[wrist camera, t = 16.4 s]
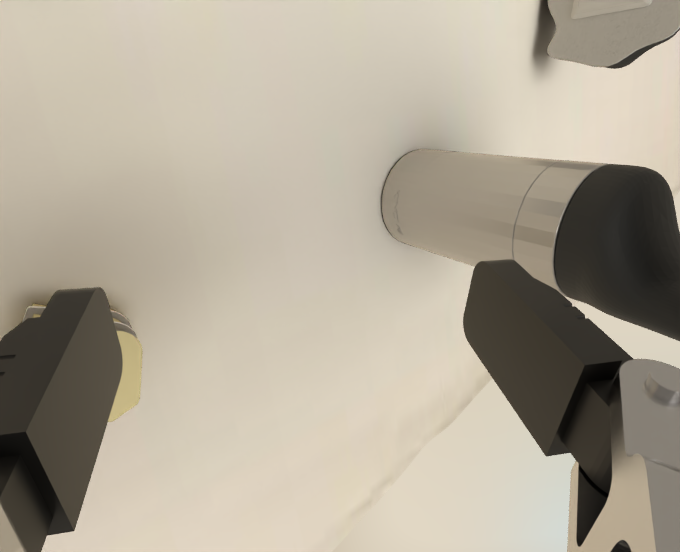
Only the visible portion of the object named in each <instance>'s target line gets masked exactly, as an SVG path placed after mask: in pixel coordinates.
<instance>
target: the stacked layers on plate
mask: <svg viewBox="0 0 680 552" xmlns="http://www.w3.org/2000/svg"><path fill="white" fill-rule="evenodd" d="M45 308H46V306H45V305H39V304H34V303H33V305H32V306H29V307H27V309H26V312H25V315H24V318H23V321H22V322H24V321H25V320H26V319H28V318H35V317H40V316H41V314H42V312H43V311H44V309H45ZM110 310H111V314H112V317H113V321H114V325H115V328H116V332H117V335H118V339H119V342H120V346H121V350H122V359H123V367H122V376H121V380H120V383H119V386H118V390H117V393H116V396H115V399H114V403H113V406H112V409H111V412H110V416H109V419H108V422H112V421H114V420H116V419H117V418H118V417H120V416H121V415H123V414H124V413H125V412H127V411H128V410H130V409H131V408H132V407H134V406H135V405H137V404H138V402H139V399H140V387H141V369H142V346H141V344H140V342H139V340H138V339H137V336H136V334H135V332H134V331H133V330H132V328H131V325H130V323H129V321H128V319H127V318H126V317H125V316H124V315H122V314H121V313H119V312H116V311H114V310H112V309H110Z"/></svg>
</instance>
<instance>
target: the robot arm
mask: <svg viewBox="0 0 680 552" xmlns="http://www.w3.org/2000/svg"><path fill="white" fill-rule="evenodd" d="M382 214H383V219H384V222H385V224H386V227H387V229H388V230H389V232H390V233H391V235H392V236H393V237H394V238H396V239H397V240H398V241H401V242H403V243H405V244H408V245H411V246H414V247H417V248H421V249H424V250H427V251H429V252H432V253H435V254H438V255H441V256H444V257H447V258H450V259H453V260H456V261H459V262H462V263H465V264H468V265H471V266H475V268H474V271H473V276H472V280H471V285H470V289H469V294H468V298H467V303H466V307H465V312H464V317H463V326H464V332H465V336H466V338H467V341H468V342H469V344H470V345H471V347H472V348H473V350H474V351H475V353H476V354H477V356H478V357H479V359H480V360H481V362H482V363H483V364H484V366H485V367H486V369H487V370H488V372H489V373H490V375H491V376H492V378H493V379H494V381H495V382H496V384H497V385H498V386H499V388H500V389H501V391H502V392H503V394H504V395H505V396H506V398H507V400H508V401H509V403H510V404H511V406H512V407H513V409H514V410H515V411H516V413H517V414H518V416H519V417H520V419H521V420H522V422H523V423H524V425H525V426H526V428H527V429H528V430H529V432H530V433H531V435H532V436H533V438H534V439H535V441H536V442H537V444H538V445H539V447H540V448H541V450H542V451H543V453H544V454H545V455H546V456H552V455H558V454H564V453H571V454H572V455H573V457H574V458H575V459H576V462H575V464H574V466H573V468H572V470H571V484H570V504H569V526H568V546H567V552H680V369H678V368H676V367H674V366H671V365H669V364H666V363H663V362H659V361H655V360H648V359H633V358H632V357H631V356H630V355H628V354H627V353H626V352H625V351H624V350H623V349H622V348H621V347H620V346H618V345H617V344H616V343H615V342H614V341H613V340H612V339H611V338H609V337H608V336H607V335H606V334H605V333H604V332H603V331H602V330H601V329H600V328H598V327H597V326H596V325H595V324H594V323H593V322H592V321H591V320H590V319H585V315H584V314H583V313H582V312H581V311H580V310H578V309H577V308H576V307H572V303H571V302H570V301H568V300H567V299H566V298H565V297H564V296H566V297H569V298H572V299H575V300H578V301H581V302H584V303H587V304H589V305H591V306H593V307H595V308H597V309H598V310H600V311H602V312H604V313H606V314H609V315H611V316H614V317H616V318H619V319H621V320H624V321H627V322H630V323H633V324H635V325H639V326H641V327H644V328H647V329H650V330H652V331H655V332H658V333H660V334H663V335H665V336H668V337H670V338H673V339H676V340H678V341H680V232H679V229H678V224H677V218H676V212H675V206H674V201H673V196H672V192H671V190H670V187H669V185H668V183H667V182H666V180H665V179H664V178H663V177H662V175H660V174H659V173H658V172H656V171H654V170H651V169H649V168H646V167H639V166H630V165H617V164H604V163H591V162H579V161H564V160H551V159H539V158H526V157H514V156H502V155H489V154H477V153H464V152H455V151H442V150H429V149H418V150H415V151H411V152H410V153H408V154H406V155H404V156H403V157H402V158H401V159H400V160H399V161H398V162H397V163H396V164H395V166H394V167H393V169H392V170H391V172H390V174H389V176H388V178H387V180H386V183H385V186H384V189H383V196H382ZM122 367H123V359H122V350H121V346H120V342H119V339H118V335H117V332H116V328H115V325H114V321H113V317H112V314H111V310H110V307H109V303H108V300H107V297H106V294H105V292H104V290H103V289H102V288H100V287H97V288H82V289H68V290H58V291H56V292H55V293H54V295H53V296H52V298H51V300H50V301H49V303H48V304H47V306H46V308H45V309H44V311H43V312H42V314H41V316H40V317H35V318H28V319H26V320H25V321H24V322H22V323H21V324H20V325H18V326H17V327H16V328H14V329H13V330H12V331H10V332H9V333H8V334H6V335H5V336H4V337H3V338H2V340H1V341H0V552H41V550H42V547H43V545H44V542H45V539H46V536H47V535H53V534H59V533H65V532H71V531H74V530H75V527H76V524H77V520H78V517H79V514H80V511H81V507H82V504H83V501H84V497H85V494H86V491H87V488H88V484H89V481H90V478H91V475H92V471H93V468H94V465H95V462H96V458H97V455H98V452H99V448H100V445H101V442H102V439H103V435H104V432H105V429H106V426H107V422H108V419H109V416H110V412H111V409H112V406H113V403H114V399H115V396H116V393H117V390H118V386H119V383H120V380H121V376H122Z"/></svg>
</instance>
